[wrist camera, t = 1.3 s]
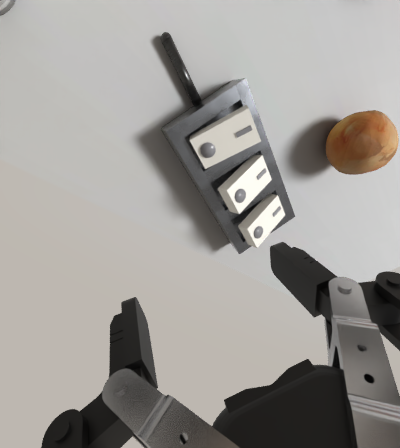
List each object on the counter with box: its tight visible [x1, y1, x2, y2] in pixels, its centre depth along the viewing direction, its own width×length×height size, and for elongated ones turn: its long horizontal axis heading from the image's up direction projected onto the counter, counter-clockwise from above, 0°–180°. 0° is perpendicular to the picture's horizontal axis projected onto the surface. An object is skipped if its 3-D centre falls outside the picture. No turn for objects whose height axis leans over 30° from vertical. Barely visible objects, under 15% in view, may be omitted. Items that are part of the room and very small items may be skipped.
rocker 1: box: [190, 105, 261, 169], centre depth 31 cm, size 8×4×2 cm, turn 120°
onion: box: [326, 110, 398, 174], centre depth 39 cm, size 10×10×10 cm
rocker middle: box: [218, 155, 272, 214], centre depth 35 cm, size 8×4×2 cm, turn 119°
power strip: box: [161, 32, 295, 254], centre depth 36 cm, size 12×33×4 cm, turn 29°
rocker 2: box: [238, 194, 285, 248], centre depth 39 cm, size 8×4×2 cm, turn 119°
